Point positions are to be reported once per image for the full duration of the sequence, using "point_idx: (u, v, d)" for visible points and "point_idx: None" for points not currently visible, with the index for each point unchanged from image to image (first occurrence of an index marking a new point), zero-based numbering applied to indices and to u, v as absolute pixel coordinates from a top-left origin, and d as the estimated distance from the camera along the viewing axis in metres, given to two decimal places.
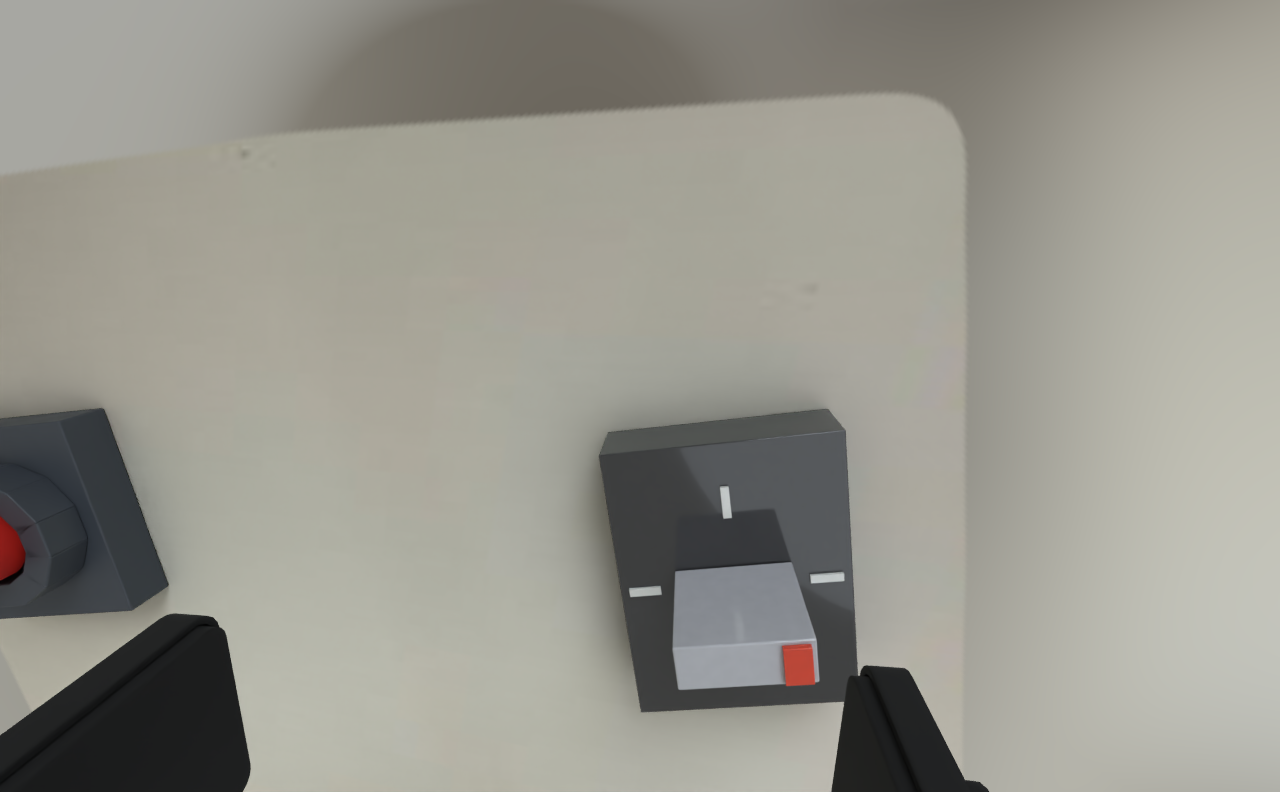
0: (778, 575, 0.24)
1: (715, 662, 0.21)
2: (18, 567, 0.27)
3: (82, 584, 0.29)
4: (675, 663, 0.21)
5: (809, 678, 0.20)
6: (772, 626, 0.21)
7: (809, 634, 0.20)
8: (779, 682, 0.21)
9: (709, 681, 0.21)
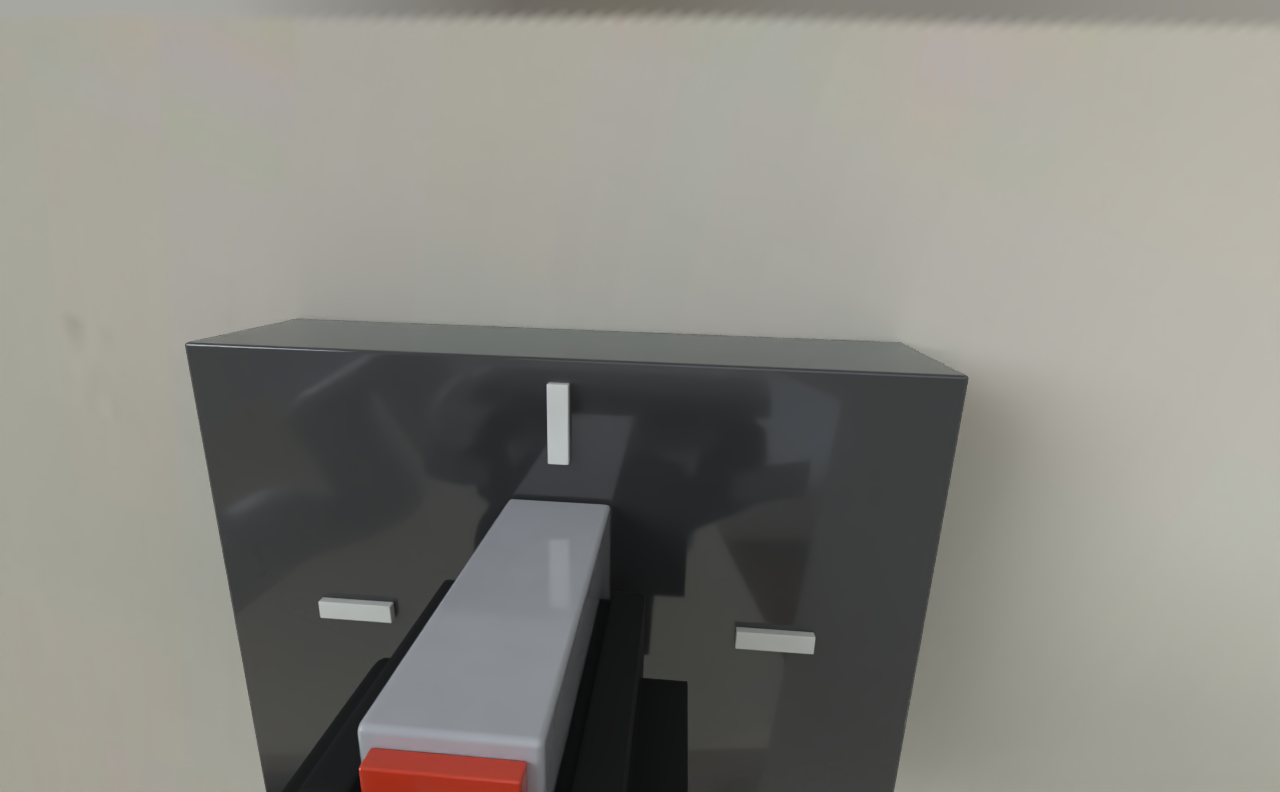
0: None
1: None
2: None
3: None
4: None
5: None
6: None
7: None
8: None
9: None
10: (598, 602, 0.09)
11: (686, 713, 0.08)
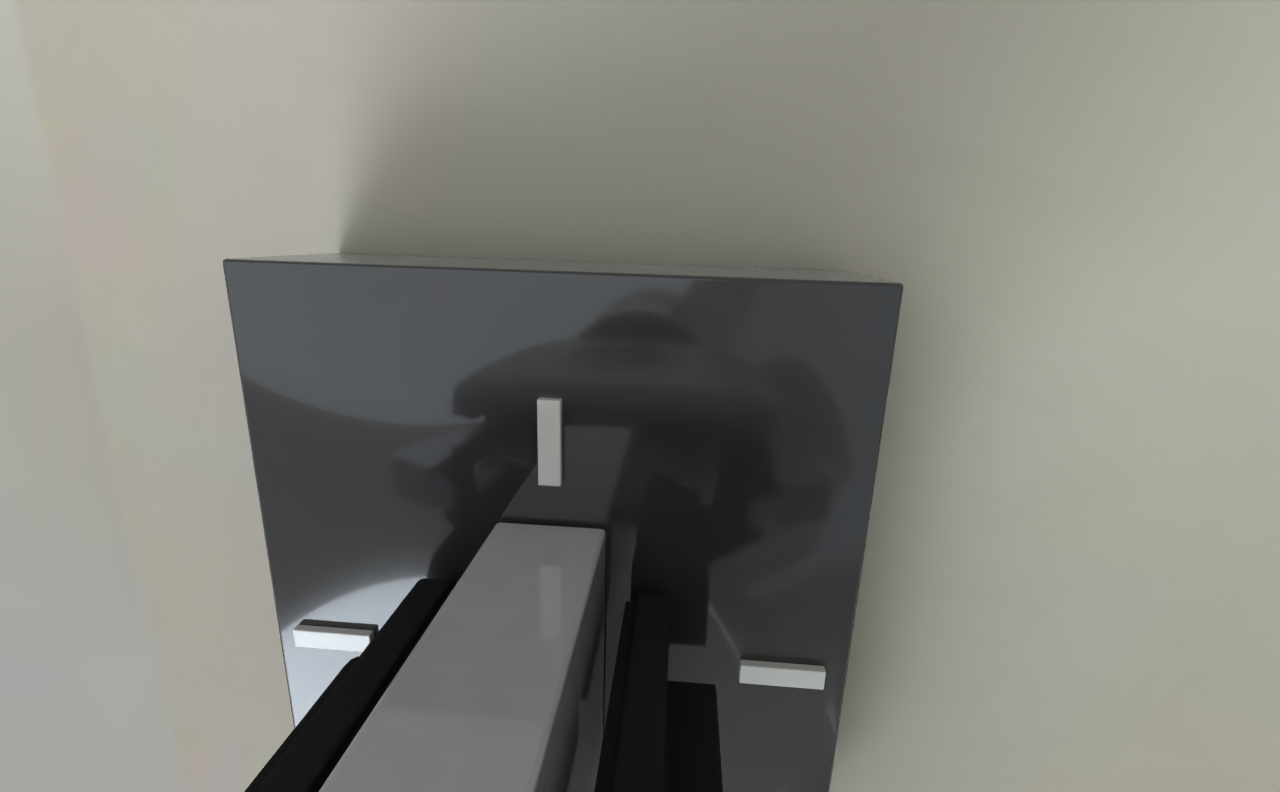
0: None
1: None
2: None
3: None
4: None
5: None
6: None
7: None
8: None
9: None
10: (591, 638, 0.08)
11: (716, 717, 0.08)
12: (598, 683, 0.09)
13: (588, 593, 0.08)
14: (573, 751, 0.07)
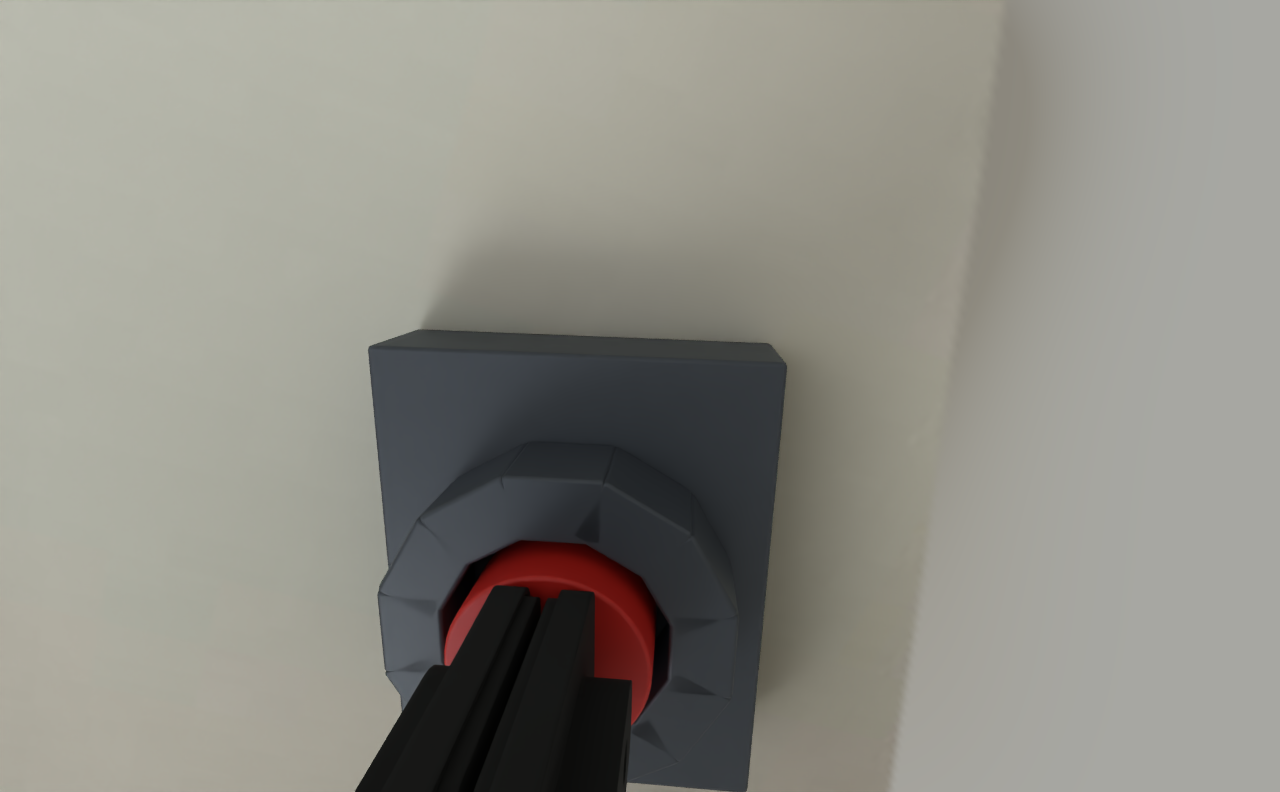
0: None
1: None
2: (496, 555, 0.11)
3: (476, 433, 0.12)
4: None
5: None
6: None
7: None
8: None
9: None
10: None
11: (624, 712, 0.08)
12: None
13: None
14: None
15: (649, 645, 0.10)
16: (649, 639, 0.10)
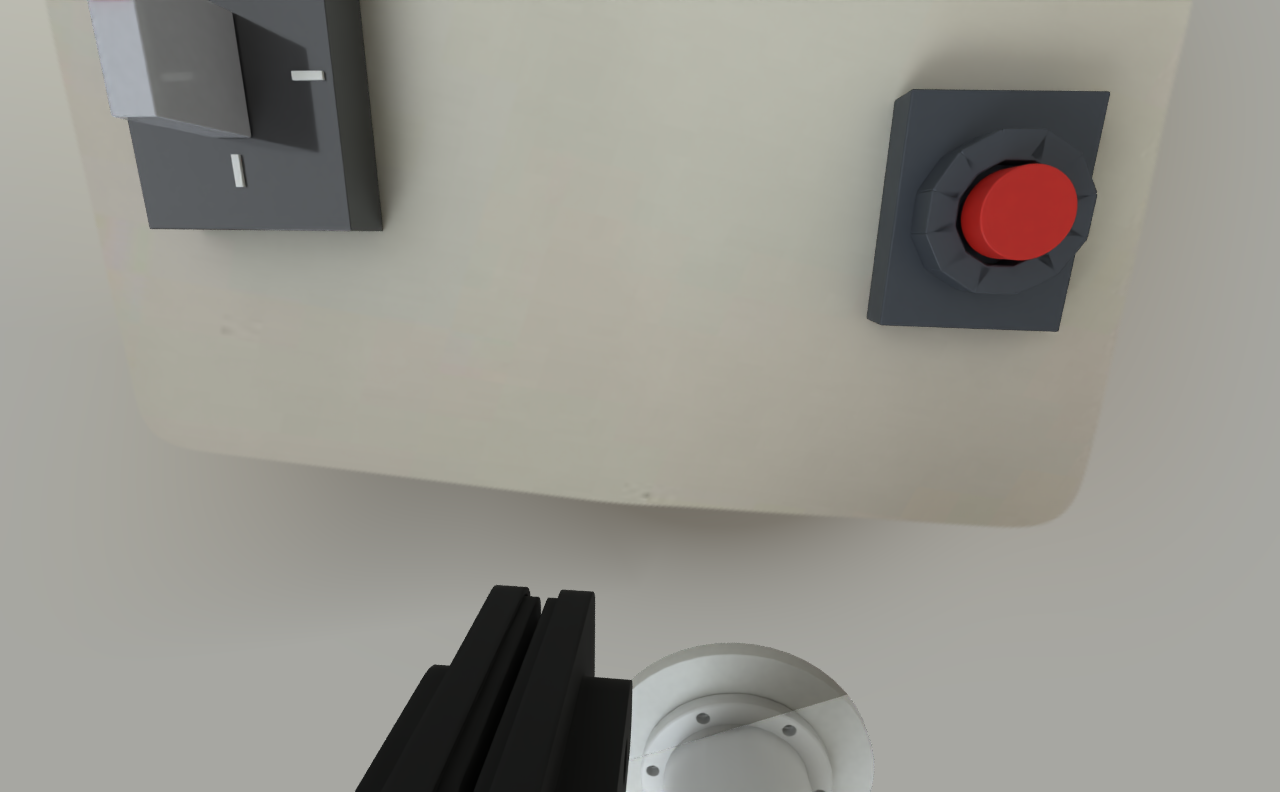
0: None
1: (119, 72, 0.21)
2: (982, 180, 0.24)
3: (956, 132, 0.25)
4: (127, 115, 0.22)
5: None
6: None
7: None
8: (137, 5, 0.21)
9: (141, 81, 0.21)
10: (210, 24, 0.24)
11: (625, 711, 0.08)
12: (230, 69, 0.25)
13: None
14: (185, 28, 0.23)
15: None
16: None
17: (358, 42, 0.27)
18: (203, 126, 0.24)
